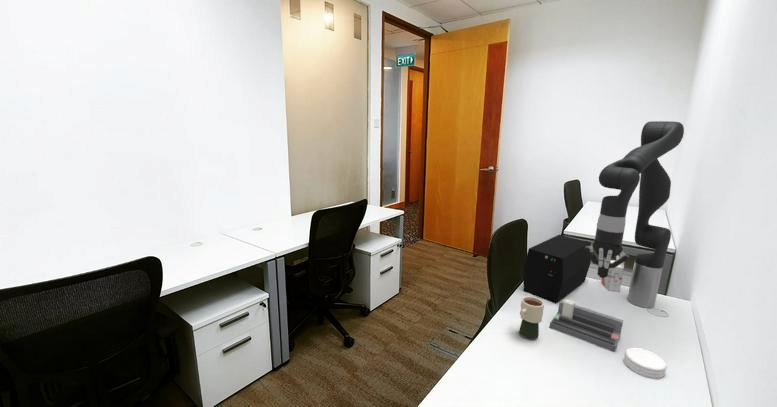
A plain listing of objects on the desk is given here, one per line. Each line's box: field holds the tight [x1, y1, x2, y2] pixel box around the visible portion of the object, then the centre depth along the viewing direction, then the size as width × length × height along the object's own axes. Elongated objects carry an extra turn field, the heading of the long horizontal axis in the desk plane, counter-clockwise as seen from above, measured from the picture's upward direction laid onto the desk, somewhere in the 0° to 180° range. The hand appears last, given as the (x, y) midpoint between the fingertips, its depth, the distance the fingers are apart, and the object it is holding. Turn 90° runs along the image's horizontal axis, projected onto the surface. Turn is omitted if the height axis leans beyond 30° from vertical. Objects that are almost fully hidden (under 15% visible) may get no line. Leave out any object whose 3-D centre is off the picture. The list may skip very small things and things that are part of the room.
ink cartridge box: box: [600, 255, 625, 293], centre depth 152 cm, size 9×5×15 cm, turn 168°
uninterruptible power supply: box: [522, 234, 592, 305], centre depth 151 cm, size 16×34×20 cm, turn 132°
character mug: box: [518, 295, 545, 340], centre depth 115 cm, size 11×7×13 cm, turn 123°
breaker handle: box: [562, 298, 576, 319], centre depth 122 cm, size 3×3×7 cm
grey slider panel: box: [549, 300, 624, 353], centre depth 118 cm, size 12×20×6 cm, turn 49°
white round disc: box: [623, 347, 667, 379], centre depth 102 cm, size 10×10×4 cm
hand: (601, 277), depth 114 cm, fingers closed
